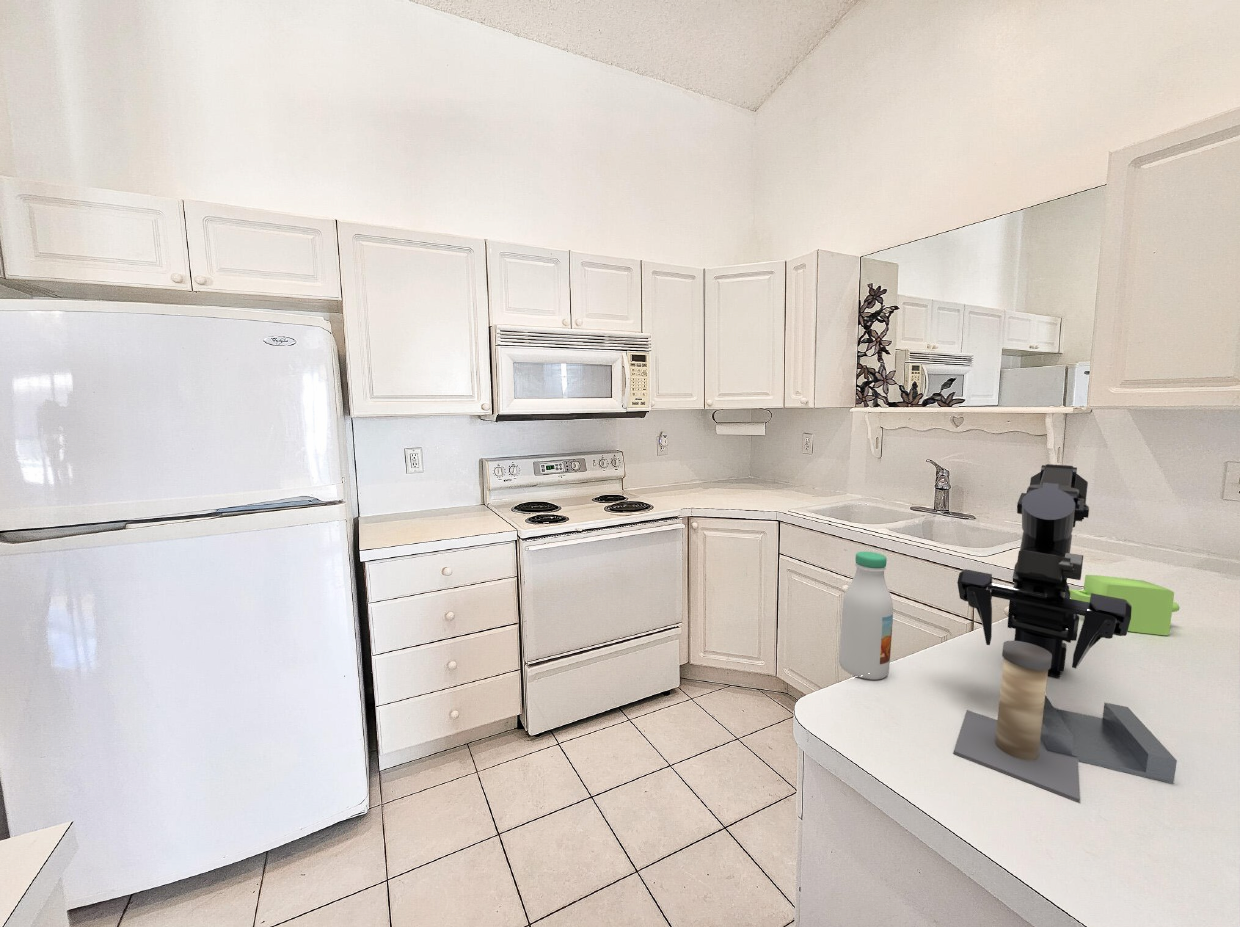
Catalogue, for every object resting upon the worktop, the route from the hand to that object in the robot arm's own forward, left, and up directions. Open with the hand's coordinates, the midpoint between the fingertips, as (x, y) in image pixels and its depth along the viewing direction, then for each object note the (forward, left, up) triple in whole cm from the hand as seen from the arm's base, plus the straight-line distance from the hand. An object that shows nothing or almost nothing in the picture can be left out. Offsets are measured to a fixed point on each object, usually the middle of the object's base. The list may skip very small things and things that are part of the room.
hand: (1029, 654), depth 69 cm
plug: (0, -6, -10) cm, 12 cm away
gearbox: (+14, +61, -11) cm, 63 cm away
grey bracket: (+7, +3, -11) cm, 13 cm away
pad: (0, -7, -11) cm, 13 cm away
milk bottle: (-21, +2, -11) cm, 24 cm away
